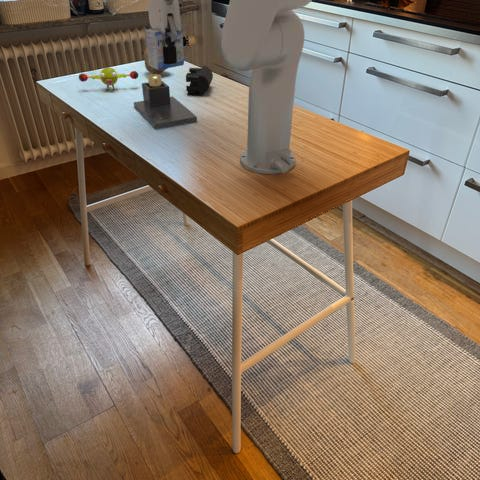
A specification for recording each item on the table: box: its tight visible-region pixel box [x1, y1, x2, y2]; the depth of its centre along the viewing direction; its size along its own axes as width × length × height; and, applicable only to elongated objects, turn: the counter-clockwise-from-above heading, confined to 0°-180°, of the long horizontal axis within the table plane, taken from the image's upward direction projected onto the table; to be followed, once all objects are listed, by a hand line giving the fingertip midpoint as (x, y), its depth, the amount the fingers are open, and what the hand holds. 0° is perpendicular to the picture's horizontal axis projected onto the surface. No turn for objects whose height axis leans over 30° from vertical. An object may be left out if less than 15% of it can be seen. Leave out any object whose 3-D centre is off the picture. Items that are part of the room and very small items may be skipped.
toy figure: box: [78, 67, 139, 91], centre depth 140 cm, size 18×6×7 cm, turn 103°
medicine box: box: [145, 28, 185, 70], centre depth 111 cm, size 8×4×9 cm, turn 129°
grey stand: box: [133, 80, 198, 130], centre depth 124 cm, size 18×12×6 cm, turn 28°
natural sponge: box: [143, 47, 169, 75], centre depth 153 cm, size 9×9×10 cm
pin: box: [147, 73, 163, 88], centre depth 126 cm, size 4×4×5 cm
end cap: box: [185, 65, 214, 97], centre depth 140 cm, size 10×7×7 cm
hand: (166, 59), depth 113 cm, fingers closed on medicine box, 5 cm apart
